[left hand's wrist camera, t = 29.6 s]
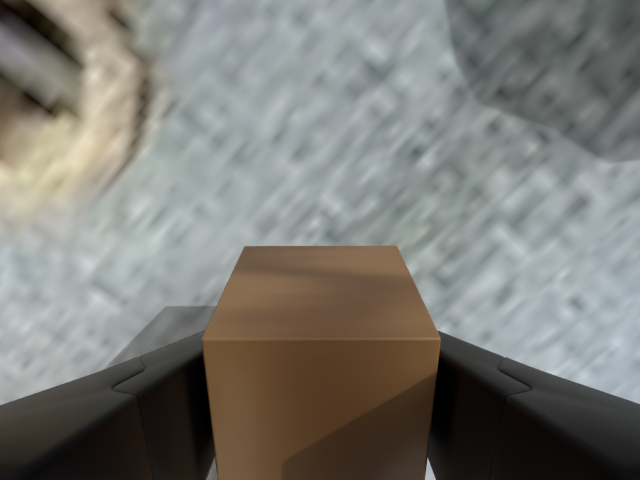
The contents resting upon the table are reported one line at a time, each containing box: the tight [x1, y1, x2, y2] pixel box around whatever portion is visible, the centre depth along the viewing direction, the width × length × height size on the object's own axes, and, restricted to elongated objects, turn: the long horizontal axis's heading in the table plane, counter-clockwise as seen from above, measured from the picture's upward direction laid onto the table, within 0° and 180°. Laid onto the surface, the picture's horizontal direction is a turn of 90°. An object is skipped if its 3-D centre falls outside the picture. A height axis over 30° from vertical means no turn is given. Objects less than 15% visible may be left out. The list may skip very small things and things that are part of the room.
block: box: [201, 246, 441, 480], centre depth 10 cm, size 4×4×4 cm
